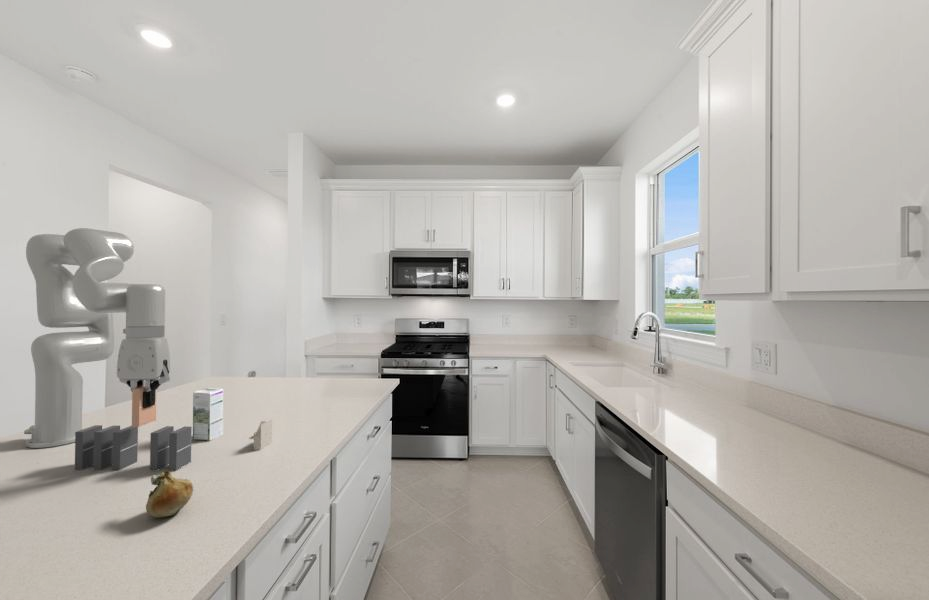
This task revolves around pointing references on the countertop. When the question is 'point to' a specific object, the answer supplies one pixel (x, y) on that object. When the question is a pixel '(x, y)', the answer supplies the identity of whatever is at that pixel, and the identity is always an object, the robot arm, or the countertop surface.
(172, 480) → the onion
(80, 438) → the domino
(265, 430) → the architectural model
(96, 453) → the domino
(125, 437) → the domino
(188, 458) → the domino
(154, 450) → the domino
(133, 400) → the domino
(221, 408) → the syrup box
